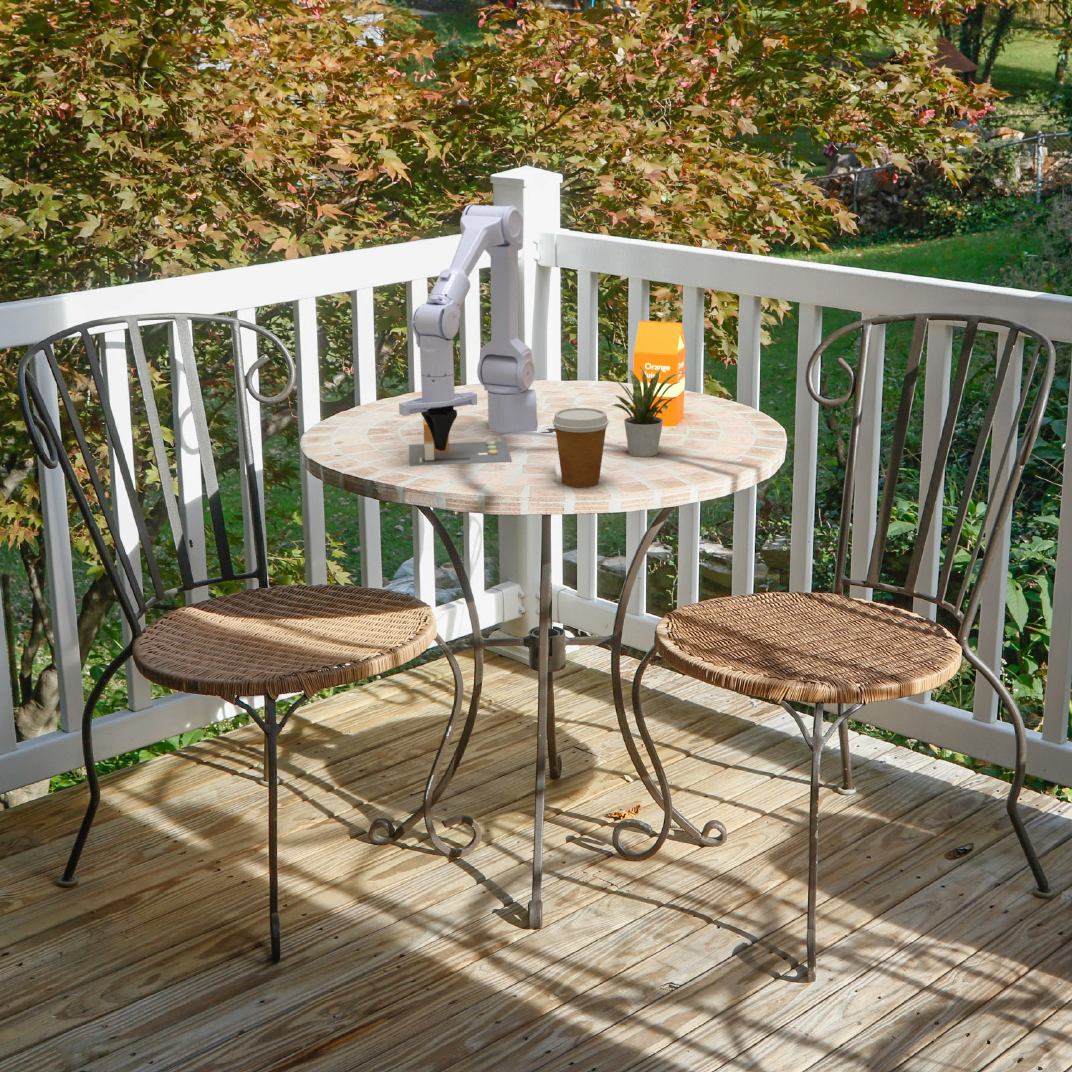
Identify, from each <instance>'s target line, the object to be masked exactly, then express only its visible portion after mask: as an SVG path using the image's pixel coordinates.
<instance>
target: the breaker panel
mask: <svg viewBox="0 0 1072 1072" xmlns="http://www.w3.org/2000/svg"><path fill="white" fill-rule="evenodd" d="M408 455H409V457H408V458H409V466H411V467H413V466H415V467H416V466H438V465H439V466H443V465H466V464H469V465H470V464H490V463H492V464H493V463H496V464H497V463H512V462H513V460H512V456H511V454H510V450H509V447H508V443H507V441H505V440H504V441H503V440H499V441H494V440H487V441H473V442H471V441H470V442H449V452H440V453H434V460H425V449H424V443H418V444H417V443H416V444H408Z"/></svg>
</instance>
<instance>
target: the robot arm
mask: <svg viewBox="0 0 1072 1072" xmlns="http://www.w3.org/2000/svg"><path fill="white" fill-rule="evenodd" d="M459 221H460V222H459V223H460V225H459V226H460V228H459V229H460V232H461V237H460V240H459V243H458V245H457V248H456V249H455V254H454V256H453V258H452V262H451V264H450V267H449V268H447V269H443V270H442V271H441V272H440V273H439V276H438V277H437V279H436V281H435V284H434V285H433V287H432V289H431V292H430V294H429V296H428V297H427V300H426V302H425V303H422V304H421V305H419V306H418V307H417V308H416V309H415V311H414V312H413V316H412V321H411V329H412V331H413V334H414V337H415V340H416V345H417V347H418V348H419V356H420V357H419V359H420V382H421V386H420V387H421V397H419V398H414V399H412V400H408V401H404V402H403V401H402V402H399V403H398V409H399V410H398V411H399V413H398V414H399V415H401V416H403V417H408V416H410V415H412V414H421V416H422V417H423V419H425V421H426V423H427V425H428V427H429V429H430V431H431V434H432V437H433V440H434V444H435V448H436V449H437V450H440V451H443V450H445V449H446V444H447V439H448V435H450V431H451V428H452V426H453V425H454V422H455V420H456V418H457V416H458V411H457V410H456V409H454V408H457V407H463V406H469V405H470V406H476V405H478V394H477V393H474V392H473V391H472V392H471V391H470V392H460V393H455V369H454V368H455V367H454V364H455V363H454V337H455V336H456V335H457V333H458V332H459V328H460V317H461V313H462V311H461V308H462V306H463V304H464V302H465V299H466V297H467V295H468V293H469V291H470V289H471V283H470V280H469V276H470V275H471V273H472V271H473V269H474V268H475V266H476V265H477V263H478V261H479V260H480V258H481V256H482V255H483V253H484V252H486V253H487V254H488V255H489V257H490V337H491V338H490V340H489V341H488V342H486V344H485V345H482V347H481V348H480V350H479V352H480V353H479V360H478V364H477V369H476V370H477V372H476V374H477V378H478V381H479V383H480V384H481V386H483V387H484V388H483V389H484V390H483V391H487V413H488V414H487V417H488V419H487V420H488V422H487V423H488V430H489V431H492V432H495V433H503V434H505V433H519V432H537V431H538V423H539V421H538V415H537V413H538V412H537V409H538V407H537V393H536V390H535V389H531V388H530V387H531V385H532V384H533V382H534V378H535V374H536V373H535V372H536V371H535V364H534V361H533V353H532V349H531V348H530V347H529V346H528V345H527V344H526V343H524V342H523V341H521V339H520V338H519V251H521V250H522V249H523V246H524V244H523V243H524V217H523V215H522V214H521V212H520V211H519V209H518V208H517V207H516V206H515V205H507V206H505V205H504V206H503V205H479V204H477V205H476V204H468V205H466V207H465V208H464V210H463V212H462V213H461V218H460V220H459ZM529 388H530V389H529Z"/></svg>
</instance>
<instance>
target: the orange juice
mask: <svg viewBox="0 0 1072 1072" xmlns="http://www.w3.org/2000/svg"><path fill="white" fill-rule="evenodd" d="M637 327H638V328H637V332H636V339H635V344H634V349H633V364H632V365H633V369H632V370H633V372H634V374H635V375H636V377H637V378H638V379H639V381H640V383H642V382H643V380H642V376H643V374H642V376H641V373H642V371H641V369H640V367H641V368H642V369H643V370H644V372H645V374H646V377H647V382H648V387H649V385H650V380H651V379H652V378H653V377H654V375H655V373H656V372H657V371H658V370H659V369H661V371H660V376H659V380H658V382H657V385H656V388H655V391H654V394H653V396H654V395H655V393H656V391H657V390H658V388H659V386H660V385H661V384H662V382H663V381H664V380H665V379H666V378H668V377H669V376H671V375H673V374H677V373H683V374H678V375H676V376H674V377H673V378H671V379H670V380H669V381H675V382H669V381H667V382H668V383H667V382H666V384H665V385H664V386H663V387H662V389H661V390H660V392H659V393H658V395H657V396H656V398H655V400H654V402H653V403H652V405H651V407H652V406H653V405H654V404H655V402H657V401H658V400H659V398H660V397H661V395H662V393H663V392H664V391H665V389H666V388H667V387H668V386H670V385H671V384H673V383H676V382H682V383H677V384H674V385H673V386H671V387H670V388H669V389H668V390H667V391H666V392H665V394H664V395H663V396H662V398H661V399H668V400H669V399H670V398H673V397H676V396H681V397H676V398H674V399H672V401H673V402H674V403H673V402H672V401H670V402H668V403H667V404H666V405H667V406H668V408H667V411H666V409H664V408H662V409H661V411H662V412H663V415H662V414H661V413H658V414H657V415H656V417H658V418H661V419H662V420H663V424H662V427H669V426H676V425H677V424H678V425H679V424H680V422H681V421H682V420H684V410H685V407H684V406H685V405H684V404H685V403H684V402H685V383H686V382H685V379H686V377H685V375H686V371H685V369H686V367H685V366H686V364H685V363H686V344H685V336H684V328H683V323H682V322H676V321H675V322H673V321H671V322H670V321H653V320H652V321H651V320H650V321H649V320H638V326H637ZM639 365H640V366H639ZM638 368H639V369H640V370H639V369H638ZM640 371H641V373H640ZM640 385H641V390H642V397H643V383H642V384H640ZM632 400H633V399H632ZM668 400H665V401H662V402H661V403H659V404H658V405H657V406H656V407H658V406H662V405H663V404H664V403H665V402H666V401H668ZM633 401H634V400H633ZM632 406H634V407H635V405H634V404H633V403H632ZM660 408H661V407H659V408H658V409H657V410H659V409H660ZM650 409H651V408H650ZM655 414H656V412H655ZM655 414H654V415H655ZM632 416H634V414H633V413H632ZM681 419H682V420H681ZM678 425H677V426H678ZM677 426H676V427H677Z"/></svg>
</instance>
